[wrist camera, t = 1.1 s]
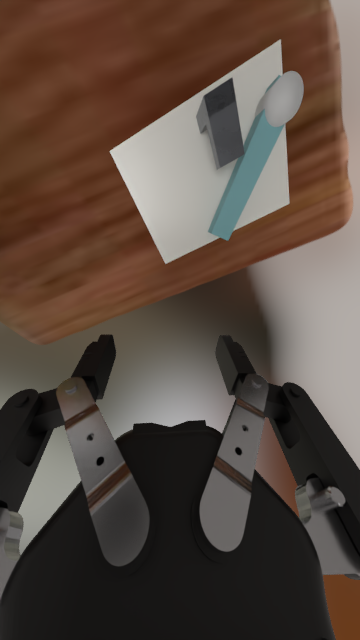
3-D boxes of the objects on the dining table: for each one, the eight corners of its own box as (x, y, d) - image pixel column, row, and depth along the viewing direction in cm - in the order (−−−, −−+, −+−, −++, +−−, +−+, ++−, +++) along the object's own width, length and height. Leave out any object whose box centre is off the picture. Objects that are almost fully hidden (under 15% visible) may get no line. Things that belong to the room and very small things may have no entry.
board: (273, 49, 19) (280, 39, 18) (283, 203, 28) (289, 203, 27) (112, 154, 23) (109, 151, 22) (165, 261, 32) (165, 264, 31)
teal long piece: (266, 82, 20) (284, 61, 17) (290, 101, 21) (311, 84, 18) (206, 230, 28) (211, 233, 25) (224, 239, 29) (231, 242, 26)
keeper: (219, 101, 20) (232, 76, 16) (230, 162, 24) (244, 154, 20) (195, 116, 21) (203, 95, 17) (210, 174, 24) (220, 167, 20)
